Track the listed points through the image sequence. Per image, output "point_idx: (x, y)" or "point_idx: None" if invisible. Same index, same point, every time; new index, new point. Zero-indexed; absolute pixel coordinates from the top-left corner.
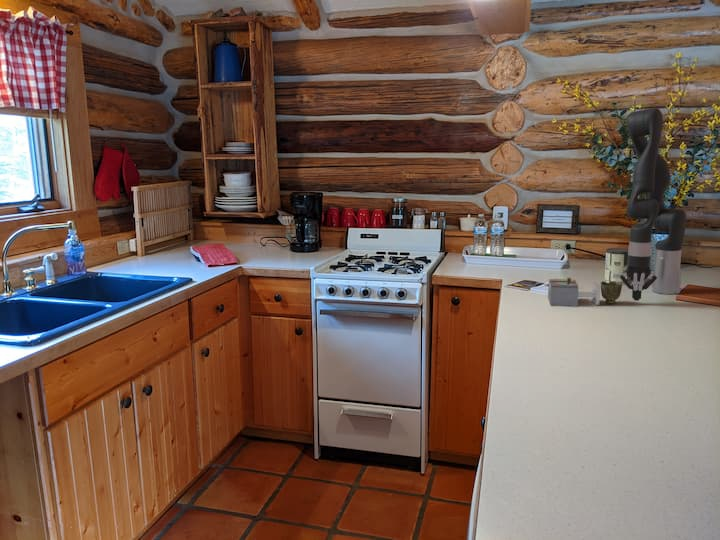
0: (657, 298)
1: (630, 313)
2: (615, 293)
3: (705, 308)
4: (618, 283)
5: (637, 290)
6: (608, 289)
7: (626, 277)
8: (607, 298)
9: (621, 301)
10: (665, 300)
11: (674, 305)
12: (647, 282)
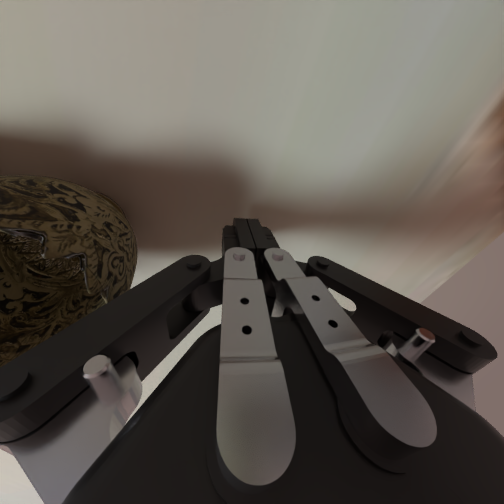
0: (440, 46)
1: (187, 336)
2: (96, 309)
3: (457, 254)
4: (64, 256)
5: (256, 268)
6: (16, 340)
7: (131, 399)
8: (60, 271)
9: (170, 154)
10: (438, 117)
11: (395, 224)
12: (357, 301)
